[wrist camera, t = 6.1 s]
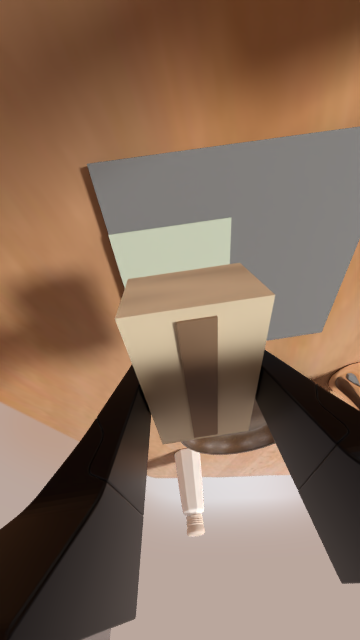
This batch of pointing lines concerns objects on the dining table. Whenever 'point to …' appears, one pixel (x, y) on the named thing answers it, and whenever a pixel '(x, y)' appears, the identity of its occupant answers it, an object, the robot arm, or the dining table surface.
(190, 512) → the salt shaker
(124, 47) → the dining table surface
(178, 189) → the rubber mat
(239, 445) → the plant saucer
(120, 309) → the slotted cream block
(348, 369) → the beer glass
